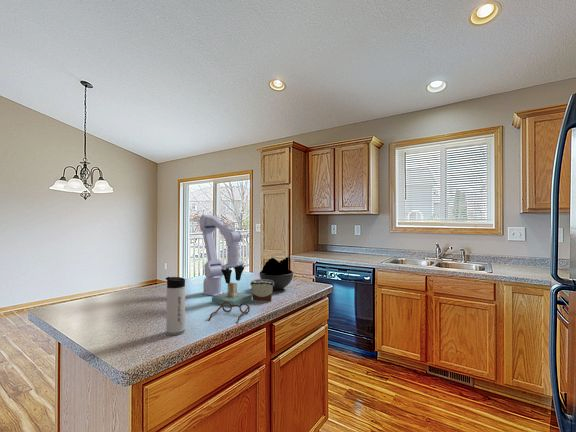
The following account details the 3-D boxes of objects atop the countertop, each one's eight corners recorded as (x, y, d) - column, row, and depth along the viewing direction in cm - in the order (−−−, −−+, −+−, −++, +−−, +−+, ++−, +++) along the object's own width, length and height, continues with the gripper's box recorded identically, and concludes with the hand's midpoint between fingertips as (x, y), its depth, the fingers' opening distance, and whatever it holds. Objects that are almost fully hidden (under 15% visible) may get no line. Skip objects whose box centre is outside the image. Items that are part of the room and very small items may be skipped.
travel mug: (168, 329, 107) (169, 275, 107) (186, 328, 107) (187, 275, 108) (162, 336, 101) (163, 279, 101) (182, 335, 101) (182, 278, 101)
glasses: (250, 314, 125) (250, 303, 125) (237, 325, 112) (237, 312, 112) (222, 312, 128) (222, 300, 128) (207, 322, 116) (207, 309, 116)
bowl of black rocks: (255, 292, 160) (255, 259, 161) (264, 284, 180) (264, 254, 180) (290, 294, 157) (290, 260, 157) (295, 286, 177) (295, 255, 177)
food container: (275, 298, 149) (276, 279, 149) (274, 301, 143) (274, 281, 143) (252, 297, 150) (252, 278, 150) (249, 301, 144) (250, 281, 144)
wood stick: (227, 301, 144) (227, 283, 144) (230, 300, 146) (230, 282, 146) (233, 302, 142) (233, 284, 142) (236, 301, 144) (236, 283, 144)
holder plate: (211, 302, 141) (211, 297, 141) (230, 296, 153) (230, 291, 153) (233, 306, 134) (233, 301, 134) (251, 299, 146) (251, 294, 146)
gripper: (229, 257, 137) (229, 285, 137) (248, 254, 150) (248, 280, 150) (218, 256, 141) (218, 283, 141) (237, 253, 153) (237, 278, 153)
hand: (233, 281), depth 146 cm, fingers open, 7 cm apart
